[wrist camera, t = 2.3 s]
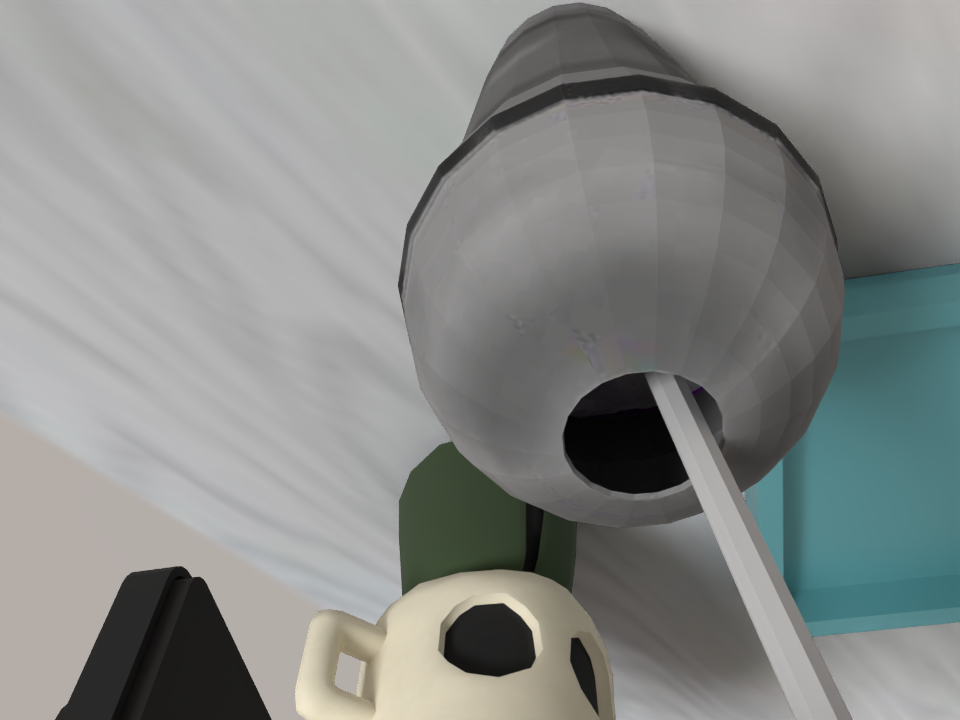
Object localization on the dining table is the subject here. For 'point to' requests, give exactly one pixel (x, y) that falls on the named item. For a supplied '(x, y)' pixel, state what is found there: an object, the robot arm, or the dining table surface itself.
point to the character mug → (467, 616)
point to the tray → (877, 466)
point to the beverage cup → (629, 301)
